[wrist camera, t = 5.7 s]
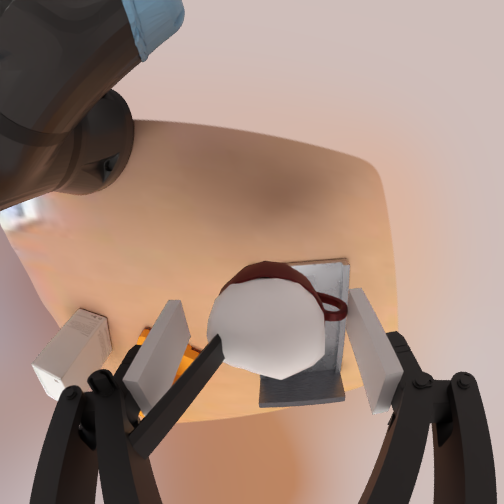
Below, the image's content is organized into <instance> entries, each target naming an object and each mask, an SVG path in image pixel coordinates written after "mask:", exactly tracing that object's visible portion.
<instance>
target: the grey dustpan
mask: <svg viewBox="0 0 504 504" xmlns="http://www.w3.org/2000/svg"><path fill="white" fill-rule="evenodd" d="M286 264H287V265H289V266H291V267H292V268H294V269H295V270H297V271H299V272H300V273H302V274H303V275H304V276H306V277H307V278H308V280H309V281H310V282H311V284H312V286H313V287H314V289H315V291H316V292H320V293H325V294H328V295H331V296H334V297H337V298H339V299H341V300H342V301H344V302H345V303H346V304H347V305H348V290H349V271H350V264H349V263H348V261H347V259H346V258H345V259H333V260H320V261H308V262H294V263H286ZM322 304H323V306H324V309H325V310H328V311H339V310H340V309H338V308H337V307H335V306H332V305H329V304H326V303H322ZM346 317H347V316H346ZM346 317H345V319H343V320H341V321H331V322H330V321H325V355H324V356H323V357H322V358H321V359H319V360H318V361H317V362H316V363H315V364H314V365H313V366H311V367H309V368H307V369H305V370H303V371H301V372H298V373H296V374H294V375H292V376H289V377H287V378H285V379H282V380H279V379H275V378H271V377H268V376H264V375H260V378H261V380H260V394H259V407H260V408H266V407H289V406H304V405H315V404H325V403H333V402H341V401H345V392H344V388H343V383H342V379H341V375H340V370H341V363H342V355H343V347H344V338H345V328H346Z"/></svg>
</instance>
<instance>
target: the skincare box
mask: <svg viewBox="0 0 504 504" xmlns="http://www.w3.org/2000/svg"><path fill="white" fill-rule="evenodd" d="M111 351H112V346H111V341H110V335H109V330H108V324H107V318H105V317H103V316H100V315H97V314H94V313H91V312H88V311H86V310H83V309H78V310H77V311H76V312H75V313H74V314H73V316H72V317H71V318H70V319H69V320H68V321H67V322H66V323H65V325H64V326H63V327H62V328H61V329H60V330H59V332H58V333H57V334H56V335H55V336H54V337H53V338H52V340H51V341H50V342H49V343H48V344H47V345H46V347H45V348H44V349H43V350H42V352H41V353H40V354H39V355H38V357H37V358H36V359H35V360H34V361H33V363H32V366H33V368H34V370H35V372H36V374H37V376H38V378H39V380H40V382H41V384H42V386H43V388H44V389H45V391H46V393H47V395H48V396H50V397H51V398H54V399H55V400H57V401H58V400H59V397H60V395H61V393H62V391H63V390H64V389H65V388H66V387H68V386H71V385H77V386H79V387H80V388H81V389H82V391H83V392H87V391H88V389H89V387H90V386H89V384H88V383H87V379H88V377H89V376H90V375H91V374H92V373H93V372H95V371H97V370H100V369H101V367H102V365H103V364H104V362H105V361H106V359H107V357H108V356H109V354H110V353H111Z"/></svg>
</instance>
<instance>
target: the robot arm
mask: <svg viewBox="0 0 504 504" xmlns="http://www.w3.org/2000/svg"><path fill="white" fill-rule="evenodd" d="M184 15H185V11H184V6H183V3H182V0H0V211H2V210H4V209H7V208H9V207H12V206H14V205H17V204H19V203H22V202H24V201H27V200H30V199H33V198H35V197H38V196H41V195H44V194H46V193H49V192H52V191H56V192H62V193H67V194H73V195H87V194H91V193H94V192H97V191H99V190H102V189H104V188H106V187H107V186H109V185H110V184H111V183H112V182H114V181H115V180H116V178H117V177H118V176H119V175H120V173H121V172H122V170H123V169H124V167H125V165H126V163H127V161H128V159H129V156H130V153H131V149H132V144H133V135H134V128H133V119H132V115H131V112H130V109H129V107H128V105H127V103H126V101H125V100H124V99H123V98H122V96H120V94H118V93H117V92H116V91H114V90H112V89H111V88H112V87H113V86H114V85H115V84H117V82H119V81H120V80H121V79H122V78H123V77H124V76H125V75H126V74H128V73H129V72H130V71H131V70H132V69H133V68H134V67H135V66H137V65H138V64H139V63H140V62H144V61H146V60H147V58H148V55H149V54H150V53H151V52H153V51H154V50H155V49H156V48H157V47H158V46H159V45H161V44H162V43H163V42H164V41H166V40H167V39H168V38H169V37H170V36H172V35H173V34H174V33H176V32H177V31H178V29H179V28H180V27H181V25H182V23H183V21H184ZM347 308H348V313H347V319H346V331H347V333H348V336H349V339H350V342H351V345H352V348H353V352H354V355H355V358H356V361H357V364H358V367H359V370H360V374H361V377H362V380H363V384H364V387H365V390H366V394H367V397H368V401H369V404H370V408H371V411H372V414H378V413H383V412H388V411H389V408H390V406H391V405H392V408H393V410H394V412H393V414H392V416H391V418H390V421H389V423H388V425H389V426H388V430H387V433H386V436H385V439H384V442H383V445H382V448H381V450H380V453H379V456H378V459H377V461H376V464H375V466H374V469H373V471H372V474H371V476H370V478H369V481H368V483H367V485H366V488H365V490H364V492H363V494H362V496H361V498H360V500H359V502H358V504H409V501H410V498H411V495H412V492H413V489H414V486H415V483H416V480H417V476H418V473H419V469H420V465H421V462H422V458H423V454H424V450H425V445H426V441H427V435H428V431H429V425H430V423H432V432H433V447H434V504H497V492H496V477H495V467H494V458H493V452H492V445H491V439H490V434H489V429H488V424H487V419H486V415H485V411H484V407H483V403H482V399H481V396H480V392H479V389H478V385H477V382H476V380H475V378H474V377H473V376H472V375H471V374H470V373H467V372H458V373H456V374H455V375H453V377H452V379H451V380H434V379H433V377H432V376H431V375H429V374H428V373H425V372H422V370H421V368H420V366H419V364H418V362H417V360H416V359H415V357H414V355H413V353H412V351H411V349H410V347H409V346H408V344H407V342H406V340H405V339H404V337H403V336H402V335H401V334H399V333H398V332H397V331H395V332H389V333H385V331H384V329H383V327H382V325H381V323H380V321H379V320H378V318H377V316H376V314H375V312H374V310H373V308H372V306H371V304H370V302H369V301H368V299H367V297H366V295H365V293H364V291H363V290H362V288H355V289H349V293H348V307H347ZM190 337H191V336H190V332H189V329H188V325H187V322H186V318H185V315H184V311H183V307H182V304H181V300H169V301H168V302H167V304H166V305H165V307H164V309H163V310H162V312H161V314H160V315H159V317H158V319H157V320H156V322H155V324H154V325H153V327H152V329H151V330H150V332H149V334H148V336H147V337H146V339H145V341H144V342H143V344H142V345H135V346H134V347H132V348H131V349H130V350H129V351H128V353H127V354H126V356H125V358H124V359H123V361H122V364H120V366H119V368H118V369H117V371H116V373H115V374H114V376H113V375H112V373H111V372H110V371H109V370H106V369H100V370H97V371H95V372H93V373H92V374H91V375H90V376H89V377H88V379H87V383H88V384H89V386H90V387H91V389H92V390H93V391H92V392H83V391H82V389H81V388H80V387H79V386H77V385H71V386H68V387H66V388H65V389H64V390H63V391H62V393H61V395H60V397H59V400H58V403H57V405H56V408H55V411H54V413H53V416H52V419H51V422H50V425H49V428H48V431H47V434H46V438H45V441H44V444H43V447H42V451H41V455H40V458H39V462H38V466H37V470H36V474H35V478H34V483H33V488H32V493H31V498H30V504H95V496H96V495H95V494H96V486H97V477H98V470H99V474H100V481H101V488H102V494H103V500H104V504H162V501H161V498H160V495H159V492H158V488H157V485H156V482H155V479H154V475H153V471H152V468H151V464H150V460H149V456H148V458H147V459H146V460H144V459H143V458H142V457H141V456H140V455H139V454H138V453H137V451H136V450H135V449H134V448H133V447H132V445H131V443H130V440H129V438H128V436H129V434H130V432H131V431H132V430H133V429H134V428H135V427H136V426H137V425H138V424H139V423H140V421H141V420H140V418H139V417H138V415H139V413H140V411H141V412H142V413H143V415H144V416H146V415H147V414H148V412H149V411H150V410H151V409H152V408H153V407H154V406H155V405H156V403H157V402H158V401H159V400H160V399H161V398H162V397H163V395H164V394H165V393H166V392H167V391H168V390H169V389H170V387H171V386H172V383H173V381H174V378H175V375H176V373H177V370H178V368H179V365H180V362H181V360H182V357H183V355H184V352H185V350H186V347H187V344H188V342H189V339H190ZM79 425H80V427H79Z"/></svg>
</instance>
